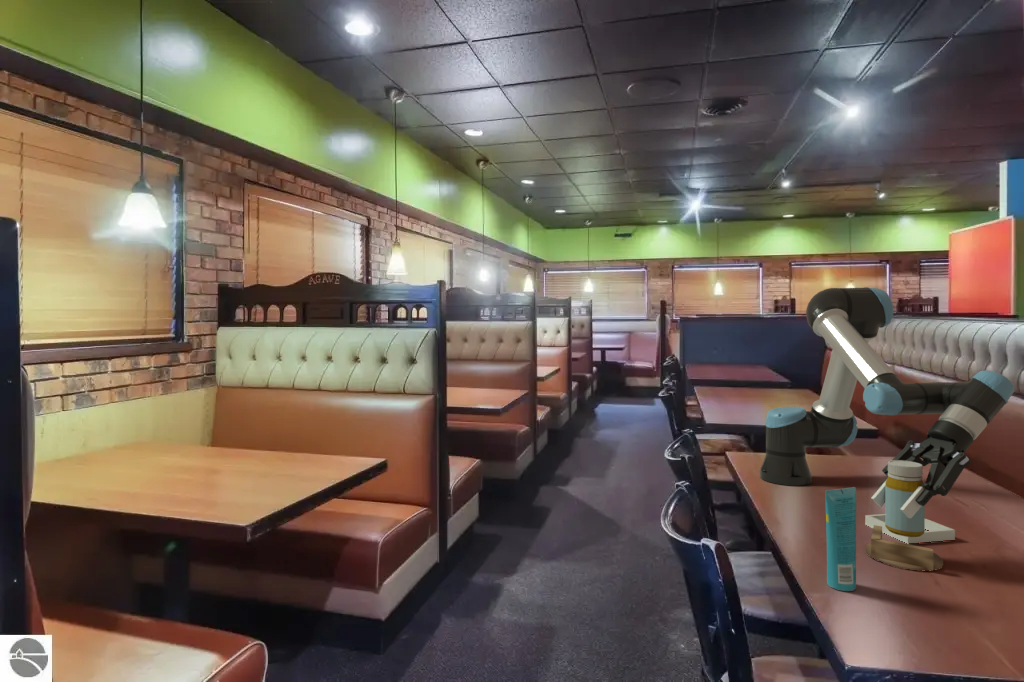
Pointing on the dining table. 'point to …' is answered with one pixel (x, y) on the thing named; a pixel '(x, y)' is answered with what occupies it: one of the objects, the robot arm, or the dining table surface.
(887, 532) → the grey frame
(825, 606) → the dining table surface
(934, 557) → the v block
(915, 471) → the bottle
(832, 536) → the tube
